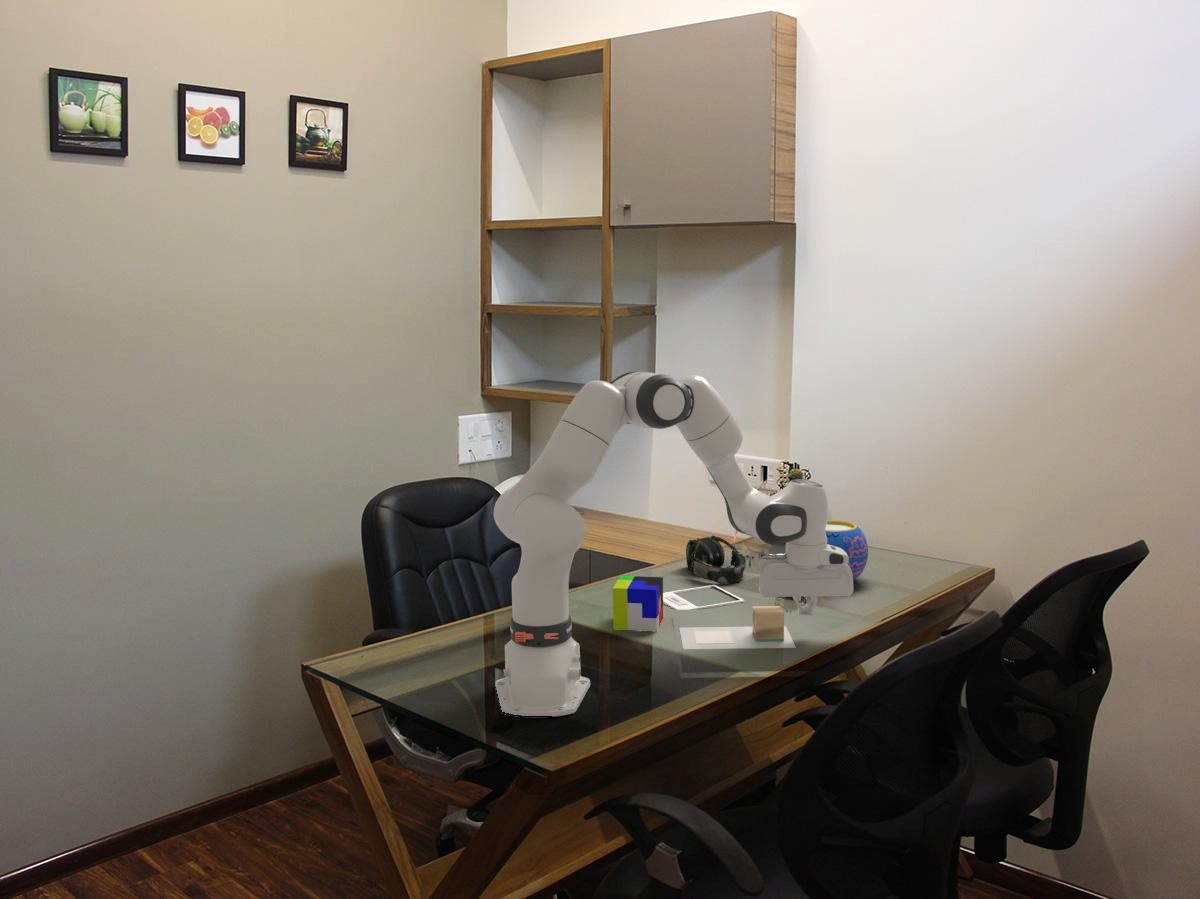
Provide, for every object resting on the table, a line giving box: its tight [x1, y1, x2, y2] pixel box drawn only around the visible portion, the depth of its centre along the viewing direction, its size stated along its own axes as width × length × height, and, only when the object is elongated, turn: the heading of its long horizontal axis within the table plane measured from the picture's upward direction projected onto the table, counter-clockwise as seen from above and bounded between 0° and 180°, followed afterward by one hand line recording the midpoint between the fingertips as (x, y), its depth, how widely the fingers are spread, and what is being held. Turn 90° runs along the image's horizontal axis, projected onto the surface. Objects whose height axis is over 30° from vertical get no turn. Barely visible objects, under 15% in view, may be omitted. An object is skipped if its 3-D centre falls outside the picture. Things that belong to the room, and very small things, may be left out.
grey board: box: [678, 625, 797, 650], centre depth 241 cm, size 14×24×1 cm, turn 90°
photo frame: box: [663, 584, 746, 611], centre depth 272 cm, size 15×1×18 cm
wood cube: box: [752, 605, 785, 642], centre depth 241 cm, size 6×6×6 cm
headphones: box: [685, 535, 747, 585], centre depth 292 cm, size 13×13×20 cm
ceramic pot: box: [826, 520, 869, 581], centre depth 283 cm, size 18×18×15 cm
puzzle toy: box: [612, 575, 664, 632], centre depth 254 cm, size 10×10×10 cm
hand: (805, 615), depth 240 cm, fingers closed
